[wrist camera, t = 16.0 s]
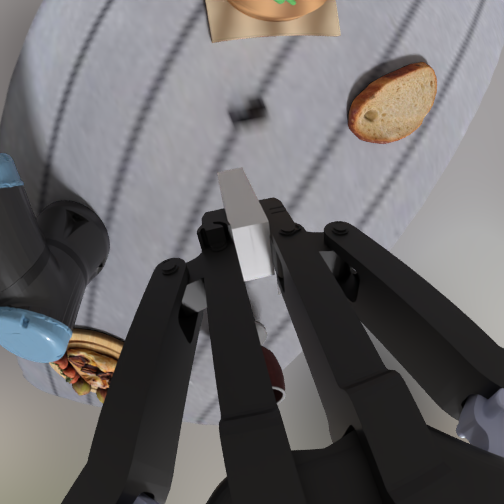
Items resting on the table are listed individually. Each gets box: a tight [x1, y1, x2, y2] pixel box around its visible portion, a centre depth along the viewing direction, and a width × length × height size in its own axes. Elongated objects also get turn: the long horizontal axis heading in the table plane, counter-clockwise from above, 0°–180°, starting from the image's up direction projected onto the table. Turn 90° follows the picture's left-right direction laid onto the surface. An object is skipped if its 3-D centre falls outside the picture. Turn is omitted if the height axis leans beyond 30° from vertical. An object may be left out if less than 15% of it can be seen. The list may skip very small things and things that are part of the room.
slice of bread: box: [348, 62, 437, 144], centre depth 36 cm, size 18×18×4 cm
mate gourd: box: [255, 322, 286, 404], centre depth 55 cm, size 16×14×20 cm
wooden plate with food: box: [49, 328, 124, 403], centre depth 59 cm, size 32×32×8 cm
